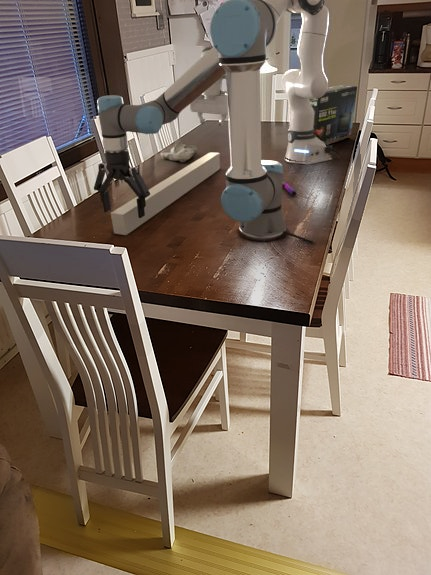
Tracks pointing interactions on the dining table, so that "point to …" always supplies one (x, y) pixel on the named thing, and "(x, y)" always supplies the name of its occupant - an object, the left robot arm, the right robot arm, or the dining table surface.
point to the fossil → (179, 152)
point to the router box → (334, 112)
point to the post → (165, 193)
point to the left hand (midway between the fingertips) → (124, 213)
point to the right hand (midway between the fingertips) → (211, 124)
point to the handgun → (288, 188)
